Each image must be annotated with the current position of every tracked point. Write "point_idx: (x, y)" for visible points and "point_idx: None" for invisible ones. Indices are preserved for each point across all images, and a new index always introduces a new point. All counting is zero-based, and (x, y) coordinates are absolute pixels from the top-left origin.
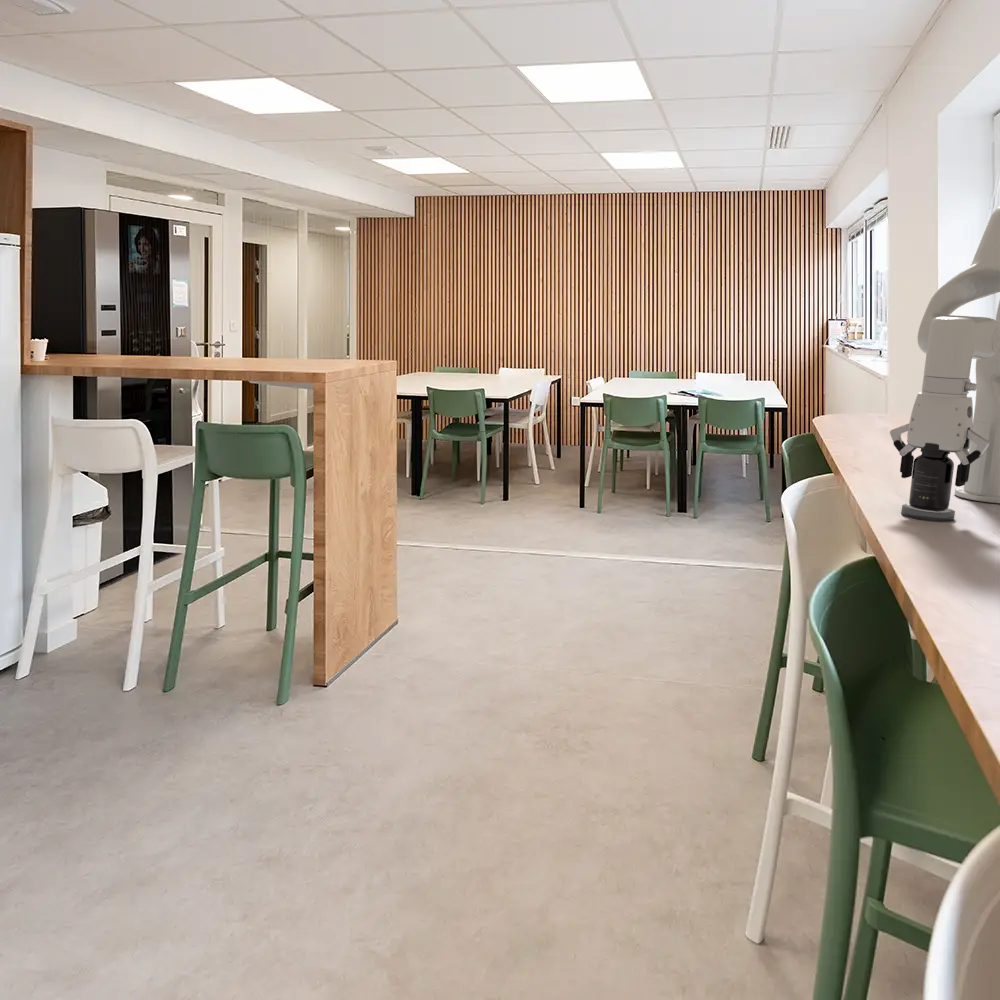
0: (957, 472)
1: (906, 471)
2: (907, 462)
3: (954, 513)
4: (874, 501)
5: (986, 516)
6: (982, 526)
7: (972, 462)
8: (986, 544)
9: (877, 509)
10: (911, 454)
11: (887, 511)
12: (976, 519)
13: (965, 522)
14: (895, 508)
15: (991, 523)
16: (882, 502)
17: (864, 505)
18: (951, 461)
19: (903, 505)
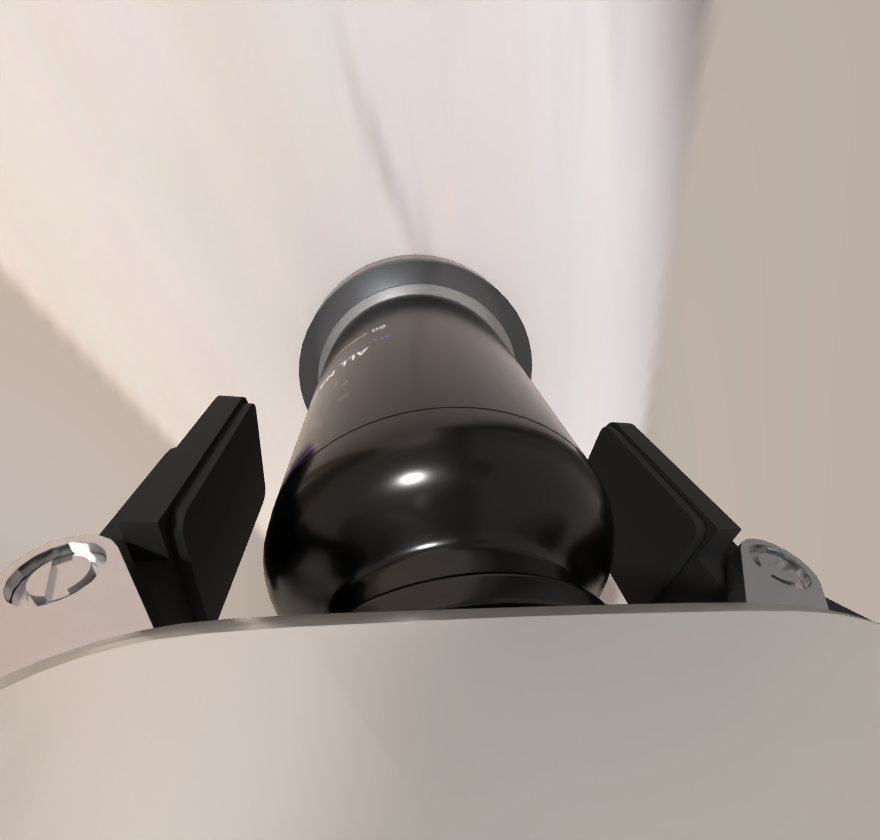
0: (612, 566)
1: (252, 521)
2: (228, 586)
3: (529, 377)
4: (12, 149)
5: (672, 87)
6: (621, 390)
7: (779, 558)
8: (609, 586)
9: (204, 395)
10: (163, 581)
11: (257, 402)
12: (610, 250)
13: (564, 366)
14: (236, 295)
15: (664, 295)
16: (64, 141)
17: (101, 349)
18: (601, 592)
19: (310, 402)
